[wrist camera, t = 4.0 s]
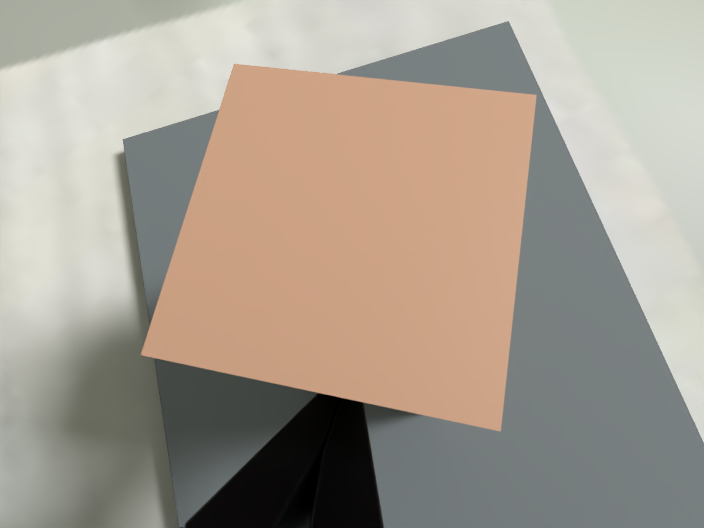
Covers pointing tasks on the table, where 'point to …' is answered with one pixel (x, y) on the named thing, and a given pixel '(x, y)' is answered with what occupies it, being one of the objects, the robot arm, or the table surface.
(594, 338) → the slate mat
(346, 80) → the beech block
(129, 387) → the table surface
